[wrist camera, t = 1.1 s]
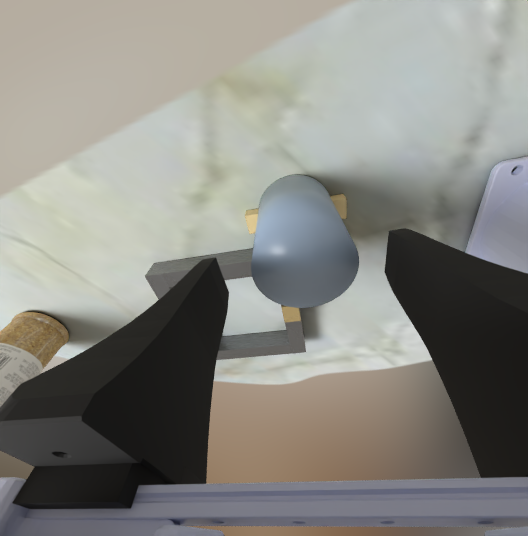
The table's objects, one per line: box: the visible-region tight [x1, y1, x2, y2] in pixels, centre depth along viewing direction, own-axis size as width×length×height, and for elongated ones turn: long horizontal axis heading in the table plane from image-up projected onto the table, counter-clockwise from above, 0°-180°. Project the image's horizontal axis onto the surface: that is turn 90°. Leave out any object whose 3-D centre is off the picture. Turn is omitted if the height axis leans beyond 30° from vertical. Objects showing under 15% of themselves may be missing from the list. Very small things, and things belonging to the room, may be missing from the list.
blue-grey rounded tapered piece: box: [245, 175, 359, 308], centre depth 13 cm, size 6×4×6 cm
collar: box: [145, 249, 306, 360], centre depth 19 cm, size 10×10×2 cm
